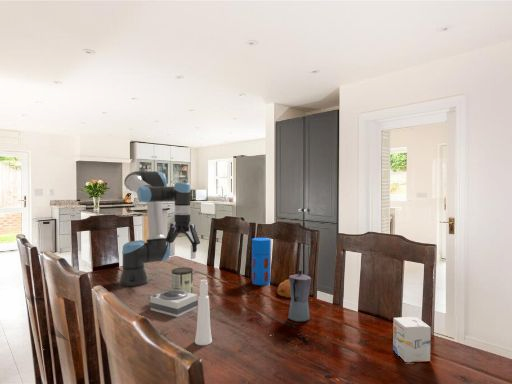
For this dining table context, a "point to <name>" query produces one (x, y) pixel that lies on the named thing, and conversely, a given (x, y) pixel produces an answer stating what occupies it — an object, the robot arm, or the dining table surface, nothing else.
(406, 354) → the ink box
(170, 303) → the kitchen scale
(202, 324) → the cosmetic bottle
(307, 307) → the moka pot
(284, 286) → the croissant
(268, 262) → the thermos
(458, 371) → the dining table surface
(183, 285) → the coffee can
